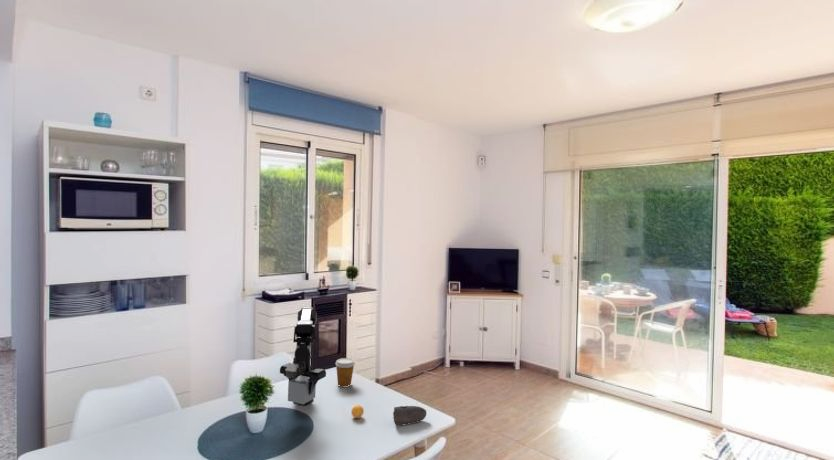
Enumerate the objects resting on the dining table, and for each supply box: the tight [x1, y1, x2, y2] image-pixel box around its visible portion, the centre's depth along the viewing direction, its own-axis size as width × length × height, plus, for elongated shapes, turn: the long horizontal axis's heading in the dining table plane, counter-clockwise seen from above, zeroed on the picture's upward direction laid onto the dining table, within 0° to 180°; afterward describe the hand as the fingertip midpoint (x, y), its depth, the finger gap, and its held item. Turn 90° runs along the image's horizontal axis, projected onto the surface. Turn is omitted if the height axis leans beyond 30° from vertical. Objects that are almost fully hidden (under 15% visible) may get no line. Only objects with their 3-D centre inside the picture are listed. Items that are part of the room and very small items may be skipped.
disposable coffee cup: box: [335, 357, 356, 387], centre depth 211 cm, size 10×10×12 cm
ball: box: [351, 404, 364, 419], centre depth 175 cm, size 5×5×5 cm
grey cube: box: [287, 375, 317, 405], centre depth 171 cm, size 8×8×8 cm
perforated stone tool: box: [392, 405, 427, 426], centre depth 172 cm, size 15×5×7 cm, turn 111°
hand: (301, 392), depth 171 cm, fingers closed on grey cube, 8 cm apart
